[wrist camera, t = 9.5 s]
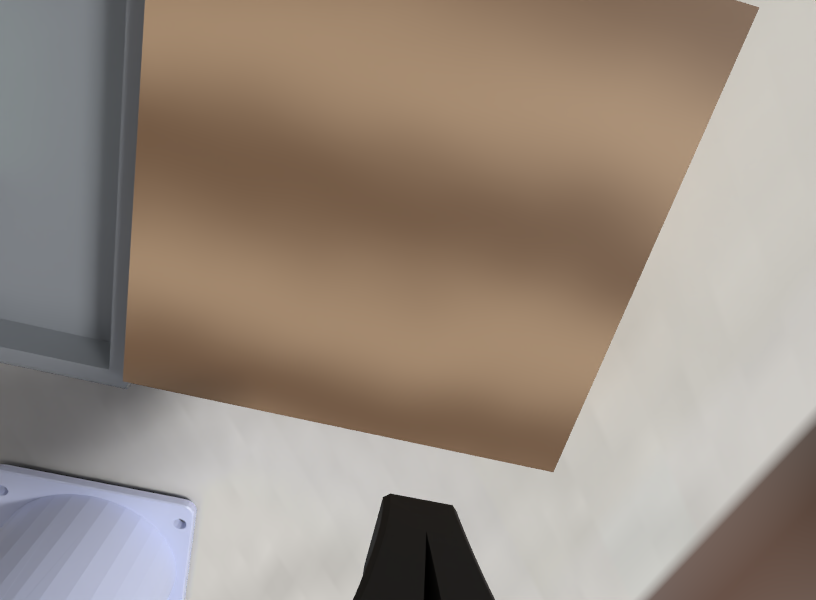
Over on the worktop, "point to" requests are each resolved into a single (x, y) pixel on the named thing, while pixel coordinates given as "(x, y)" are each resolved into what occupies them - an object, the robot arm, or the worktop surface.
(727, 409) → the worktop surface
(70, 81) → the tray
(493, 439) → the wooden cutting board
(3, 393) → the worktop surface
